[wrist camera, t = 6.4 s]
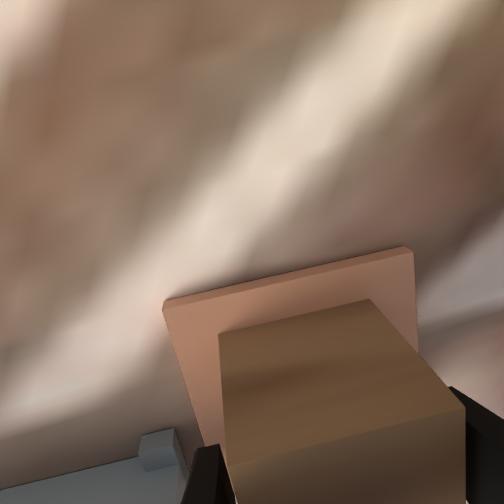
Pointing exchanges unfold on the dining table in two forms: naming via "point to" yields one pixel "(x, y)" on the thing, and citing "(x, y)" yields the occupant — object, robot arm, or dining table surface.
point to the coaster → (280, 317)
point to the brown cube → (338, 414)
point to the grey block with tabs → (116, 479)
